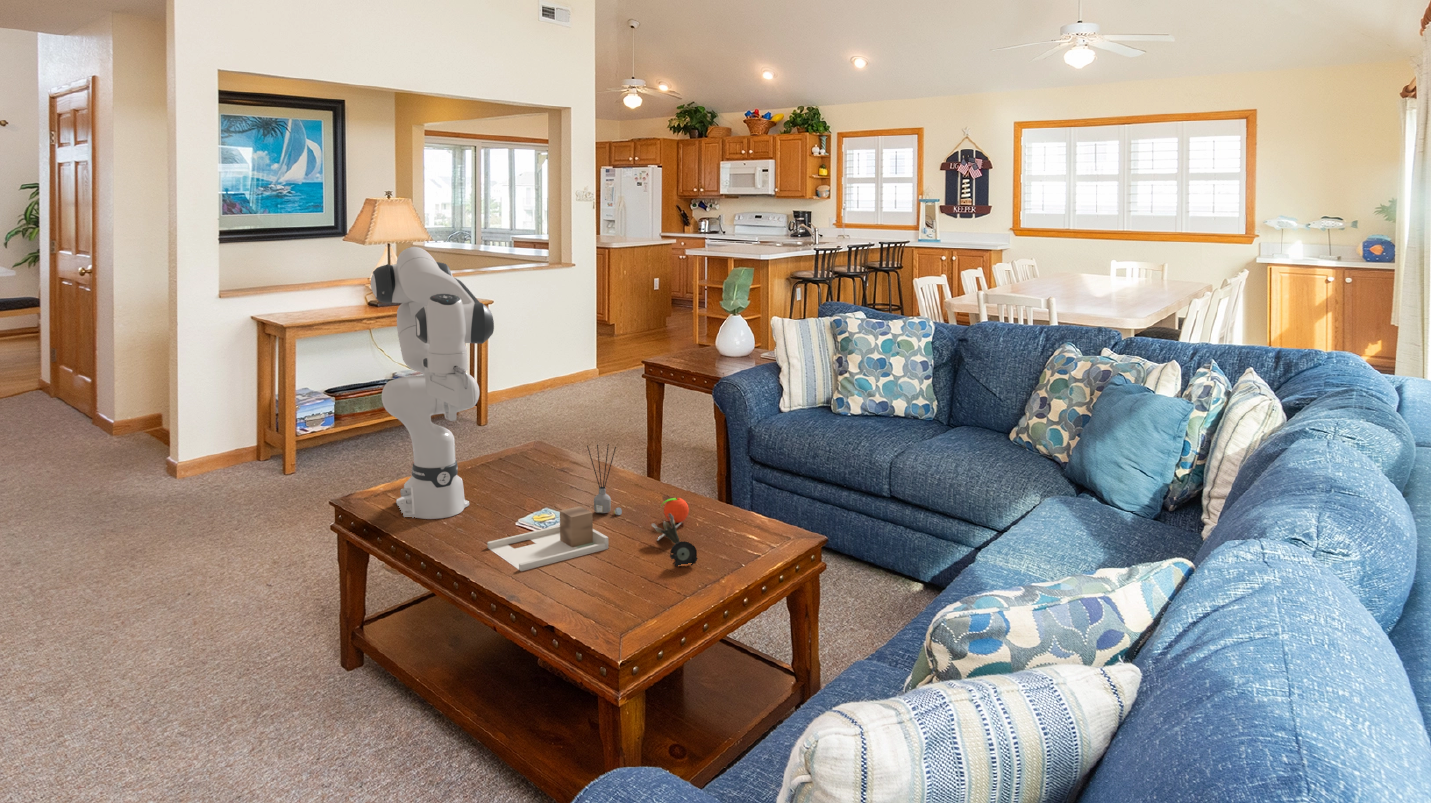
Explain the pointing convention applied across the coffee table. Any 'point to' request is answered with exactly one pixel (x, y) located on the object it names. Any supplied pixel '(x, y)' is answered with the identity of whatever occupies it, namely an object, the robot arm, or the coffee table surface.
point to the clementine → (676, 509)
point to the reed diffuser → (603, 492)
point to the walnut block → (576, 526)
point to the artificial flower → (677, 544)
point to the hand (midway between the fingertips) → (450, 419)
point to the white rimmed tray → (543, 548)
